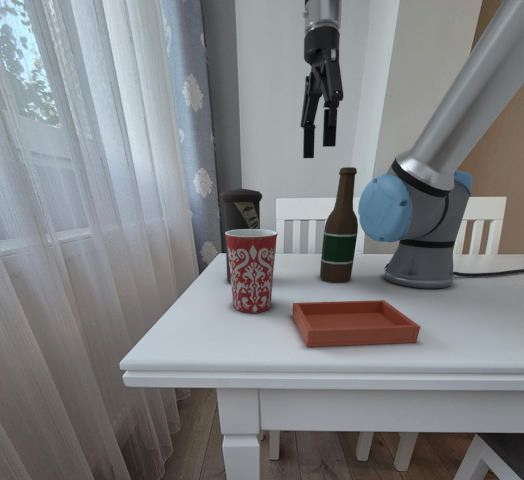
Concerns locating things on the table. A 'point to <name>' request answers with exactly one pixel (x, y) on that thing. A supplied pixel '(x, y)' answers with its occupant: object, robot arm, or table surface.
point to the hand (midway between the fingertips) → (317, 152)
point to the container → (240, 213)
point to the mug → (251, 268)
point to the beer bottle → (340, 232)
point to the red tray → (353, 323)
